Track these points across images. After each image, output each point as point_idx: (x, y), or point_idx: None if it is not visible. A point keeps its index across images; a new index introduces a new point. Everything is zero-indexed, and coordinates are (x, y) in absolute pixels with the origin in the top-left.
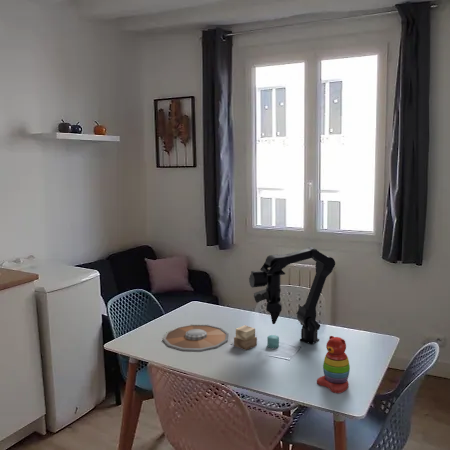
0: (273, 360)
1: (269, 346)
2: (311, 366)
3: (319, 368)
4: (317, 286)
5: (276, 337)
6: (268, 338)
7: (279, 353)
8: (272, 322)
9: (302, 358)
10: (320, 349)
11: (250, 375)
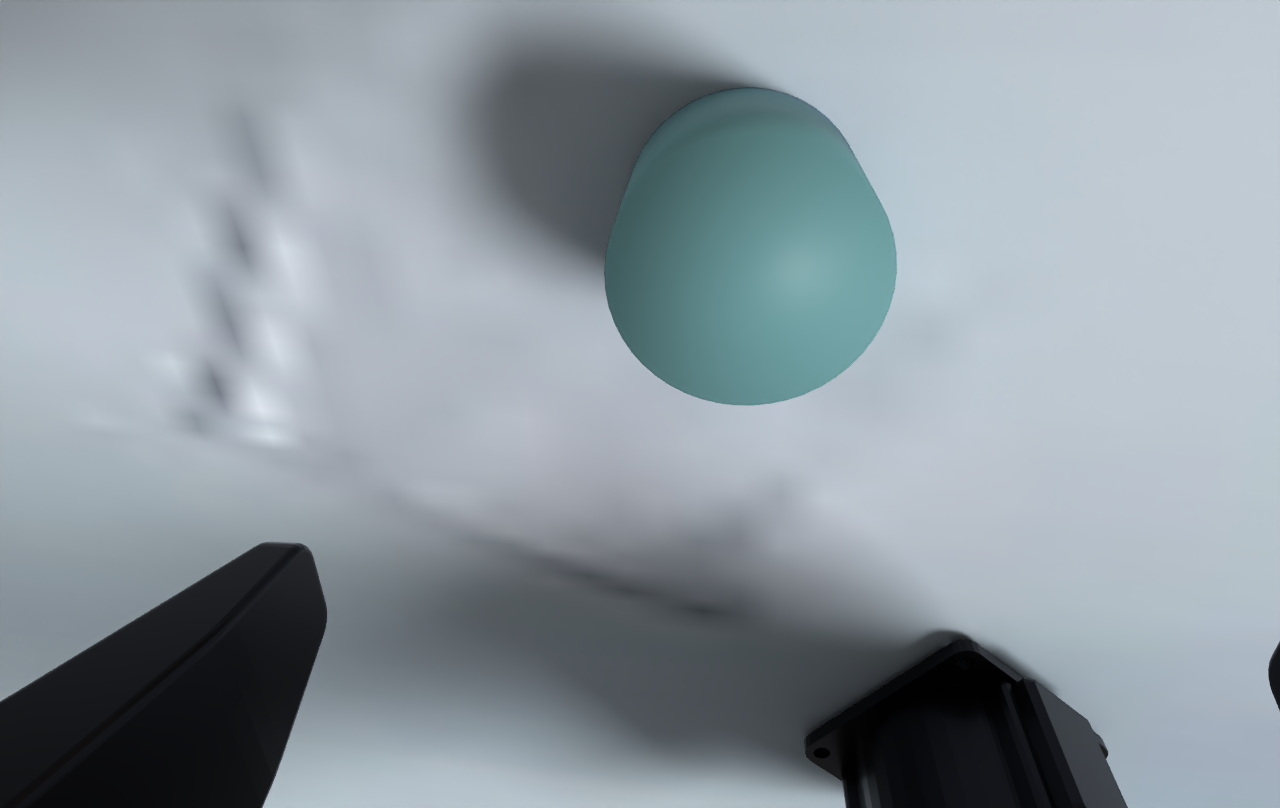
0: (90, 189)
1: (652, 138)
2: None
3: None
4: None
5: (736, 354)
6: (667, 159)
7: (410, 307)
8: (201, 588)
9: None
10: (640, 789)
11: None
